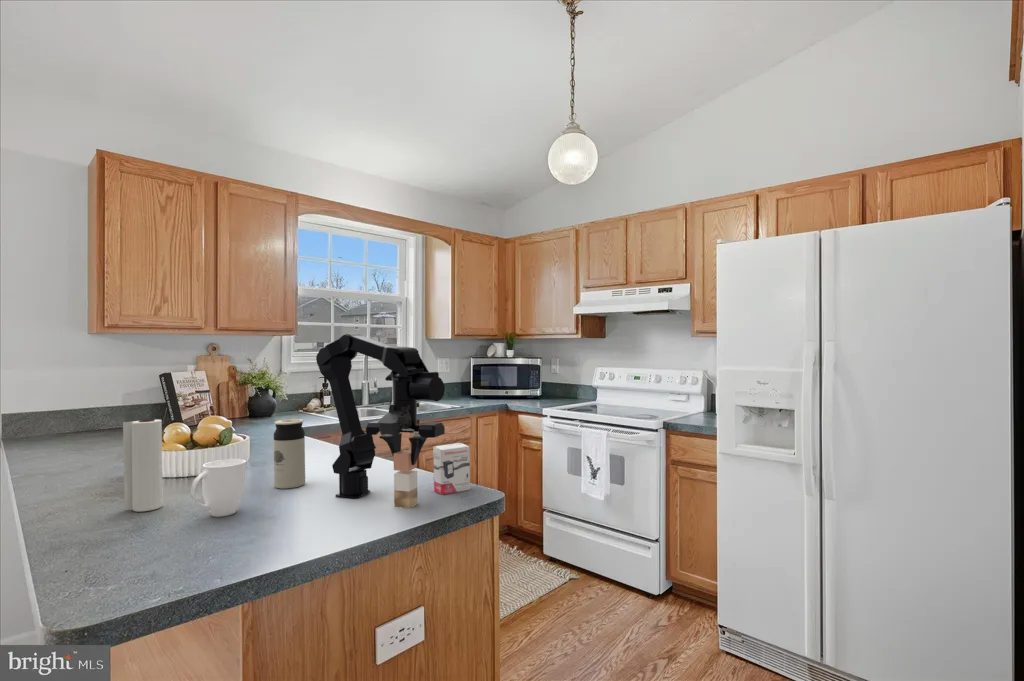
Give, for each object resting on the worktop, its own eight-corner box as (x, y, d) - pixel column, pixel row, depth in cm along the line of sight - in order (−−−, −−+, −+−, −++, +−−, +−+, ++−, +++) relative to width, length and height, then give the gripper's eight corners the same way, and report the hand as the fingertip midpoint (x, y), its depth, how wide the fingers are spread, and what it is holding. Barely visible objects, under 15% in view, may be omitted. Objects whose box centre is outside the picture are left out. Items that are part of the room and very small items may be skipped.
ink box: (441, 495, 137) (441, 449, 137) (433, 490, 141) (432, 446, 141) (470, 489, 142) (470, 445, 142) (462, 485, 146) (461, 442, 146)
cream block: (394, 490, 128) (394, 473, 128) (403, 485, 131) (402, 469, 131) (409, 491, 126) (408, 474, 126) (417, 487, 130) (417, 470, 130)
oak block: (394, 507, 128) (394, 490, 128) (403, 502, 131) (403, 485, 131) (409, 508, 126) (409, 491, 126) (417, 503, 130) (417, 487, 130)
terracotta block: (393, 470, 128) (393, 453, 128) (402, 466, 131) (402, 450, 131) (408, 471, 126) (408, 454, 126) (416, 467, 130) (416, 451, 130)
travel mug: (297, 480, 154) (296, 418, 155) (310, 485, 149) (309, 420, 149) (269, 485, 149) (268, 421, 149) (281, 491, 143) (280, 423, 143)
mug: (230, 505, 131) (230, 456, 131) (253, 511, 126) (253, 460, 126) (181, 519, 120) (181, 466, 120) (204, 526, 116) (205, 471, 116)
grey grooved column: (168, 506, 131) (167, 419, 131) (142, 513, 125) (141, 422, 125) (150, 503, 134) (149, 417, 134) (124, 510, 128) (122, 421, 129)
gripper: (351, 402, 124) (352, 469, 124) (422, 404, 118) (423, 474, 118) (378, 397, 135) (379, 459, 135) (445, 399, 129) (446, 463, 129)
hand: (405, 464), depth 129 cm, fingers closed on terracotta block, 4 cm apart
